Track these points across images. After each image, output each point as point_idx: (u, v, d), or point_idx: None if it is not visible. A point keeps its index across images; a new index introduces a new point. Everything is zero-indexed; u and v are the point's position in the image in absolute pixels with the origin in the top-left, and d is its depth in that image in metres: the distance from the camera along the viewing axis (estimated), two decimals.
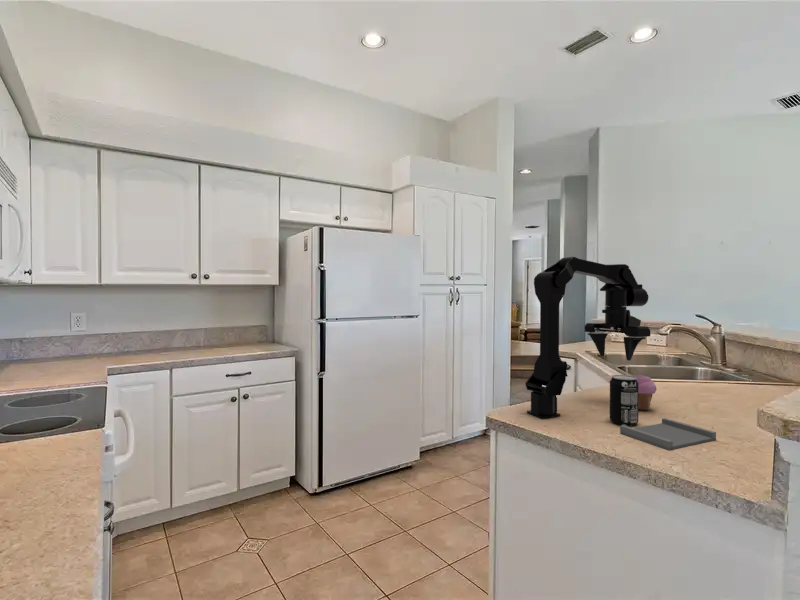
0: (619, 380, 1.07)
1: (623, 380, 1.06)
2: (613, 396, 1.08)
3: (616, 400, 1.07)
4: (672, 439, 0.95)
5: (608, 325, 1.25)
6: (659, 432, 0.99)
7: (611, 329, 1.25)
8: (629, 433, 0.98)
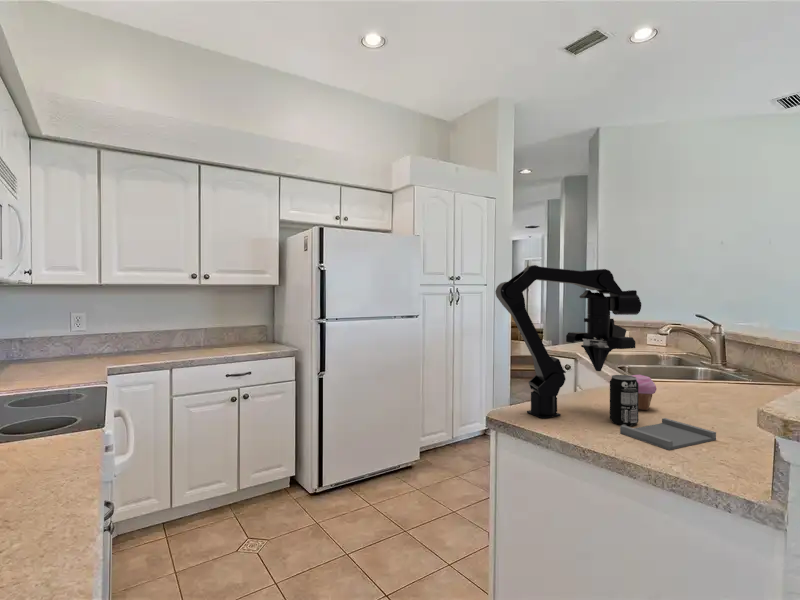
0: (619, 380, 1.07)
1: (623, 380, 1.06)
2: (613, 396, 1.08)
3: (616, 400, 1.07)
4: (672, 439, 0.95)
5: (590, 335, 1.15)
6: (659, 432, 0.99)
7: None
8: (629, 433, 0.98)
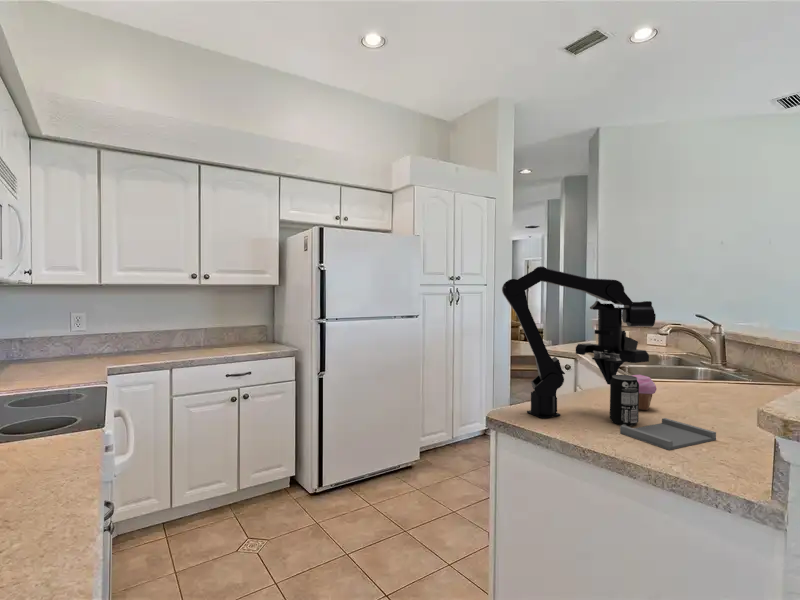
0: (620, 380, 1.07)
1: (624, 380, 1.06)
2: (614, 396, 1.08)
3: (616, 400, 1.07)
4: (672, 439, 0.95)
5: (601, 348, 1.12)
6: (659, 432, 0.99)
7: (620, 354, 1.08)
8: (629, 433, 0.98)
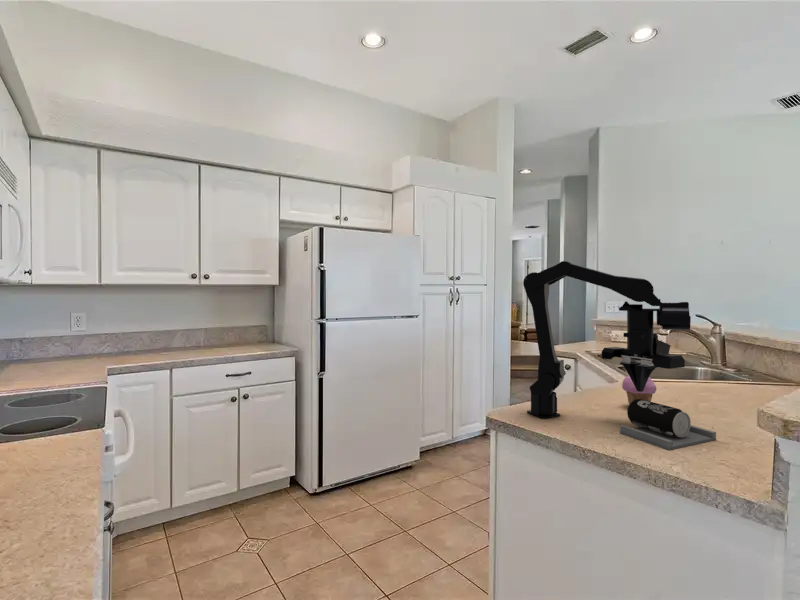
0: (671, 429, 0.94)
1: (673, 433, 0.94)
2: (651, 419, 0.98)
3: (648, 421, 0.99)
4: (672, 439, 0.95)
5: (631, 352, 1.03)
6: None
7: (652, 359, 1.00)
8: (629, 433, 0.98)
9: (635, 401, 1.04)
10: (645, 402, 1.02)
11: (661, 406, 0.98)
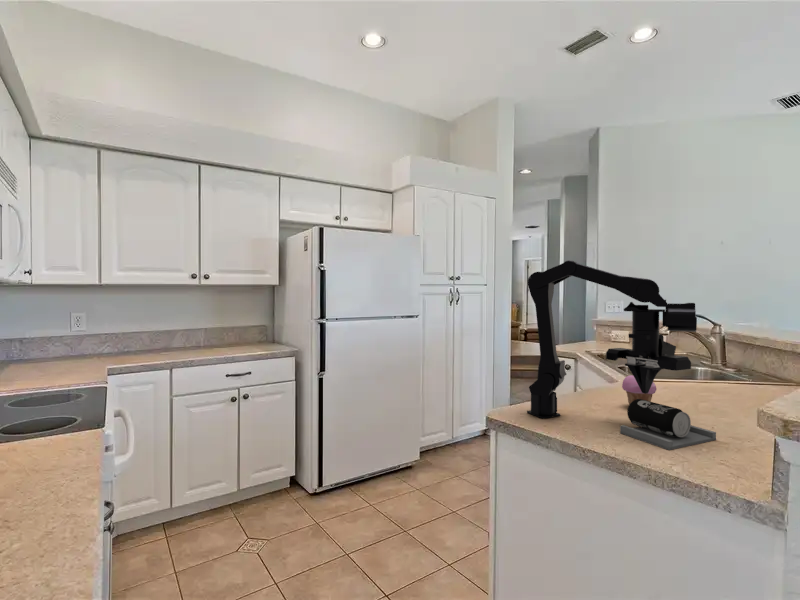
0: (671, 429, 0.94)
1: (673, 432, 0.94)
2: (651, 419, 0.98)
3: (648, 421, 0.99)
4: (672, 439, 0.95)
5: (636, 353, 1.02)
6: None
7: (657, 361, 0.98)
8: (629, 433, 0.98)
9: (635, 401, 1.04)
10: (645, 402, 1.02)
11: (661, 406, 0.98)
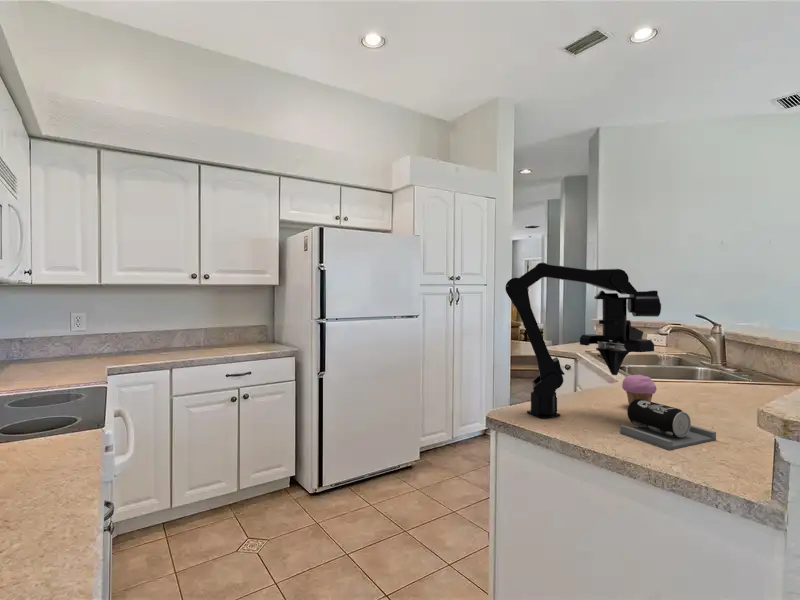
0: (671, 429, 0.94)
1: (673, 432, 0.94)
2: (651, 419, 0.98)
3: (648, 421, 0.99)
4: (672, 439, 0.95)
5: (606, 338, 1.10)
6: None
7: None
8: (629, 433, 0.98)
9: (635, 401, 1.04)
10: (645, 402, 1.02)
11: (661, 406, 0.98)
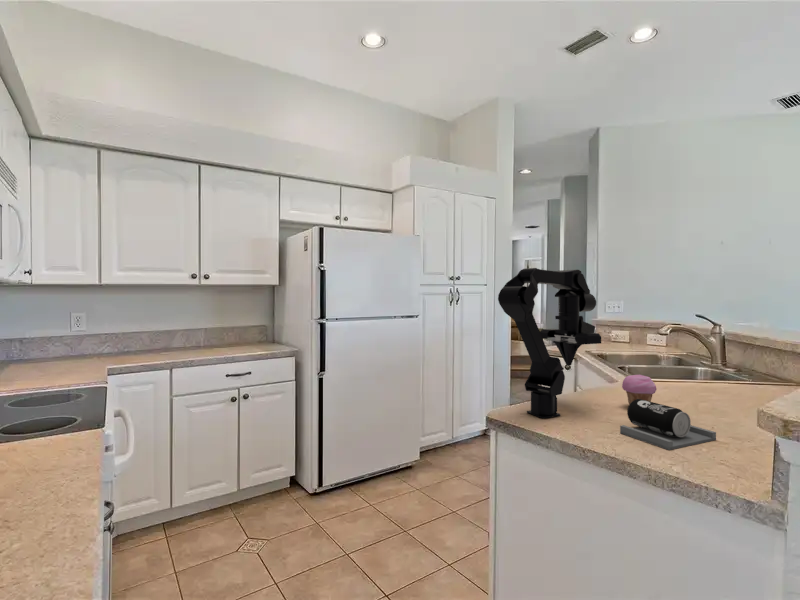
0: (671, 429, 0.94)
1: (673, 433, 0.94)
2: (651, 419, 0.98)
3: (648, 421, 0.99)
4: (672, 439, 0.95)
5: (561, 332, 1.22)
6: None
7: None
8: (629, 433, 0.98)
9: (635, 401, 1.04)
10: (645, 402, 1.02)
11: (661, 406, 0.98)
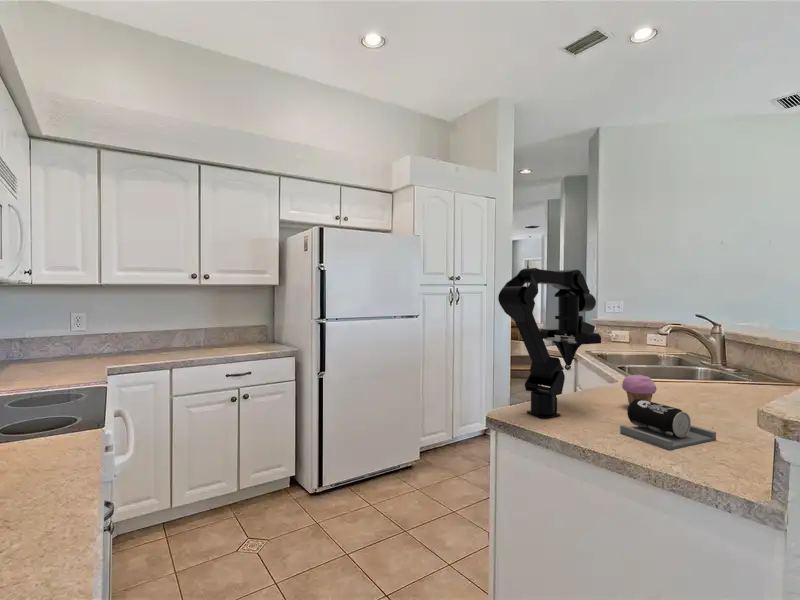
0: (671, 429, 0.94)
1: (673, 432, 0.94)
2: (651, 419, 0.98)
3: (648, 421, 0.99)
4: (672, 439, 0.95)
5: (560, 332, 1.22)
6: None
7: None
8: (629, 433, 0.98)
9: (635, 401, 1.04)
10: (645, 402, 1.02)
11: (661, 406, 0.98)
